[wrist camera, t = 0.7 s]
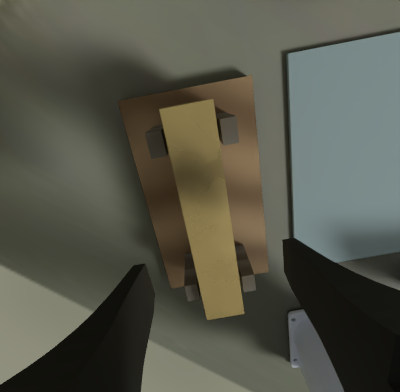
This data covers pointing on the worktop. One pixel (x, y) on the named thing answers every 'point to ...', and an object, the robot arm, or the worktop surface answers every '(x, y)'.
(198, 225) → the brass rail
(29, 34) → the worktop surface
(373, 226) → the rubber mat
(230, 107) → the hook stand
